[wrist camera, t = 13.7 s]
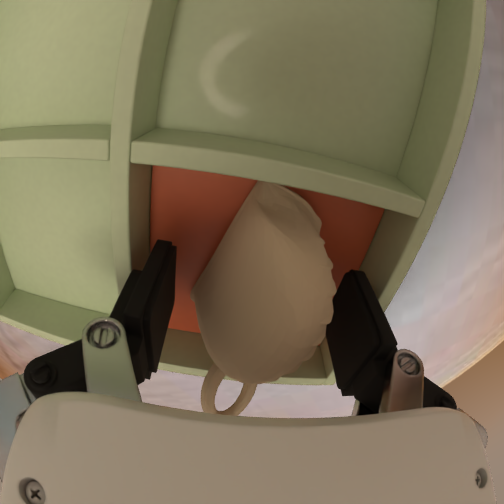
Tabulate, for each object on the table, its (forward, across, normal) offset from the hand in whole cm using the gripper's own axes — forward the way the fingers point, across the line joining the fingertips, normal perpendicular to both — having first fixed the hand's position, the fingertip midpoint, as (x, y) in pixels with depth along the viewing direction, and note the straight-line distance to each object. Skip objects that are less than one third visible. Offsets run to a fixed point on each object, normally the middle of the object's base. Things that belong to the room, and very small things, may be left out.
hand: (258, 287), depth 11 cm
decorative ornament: (+2, 0, 0) cm, 2 cm away
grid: (+2, +5, -5) cm, 7 cm away
